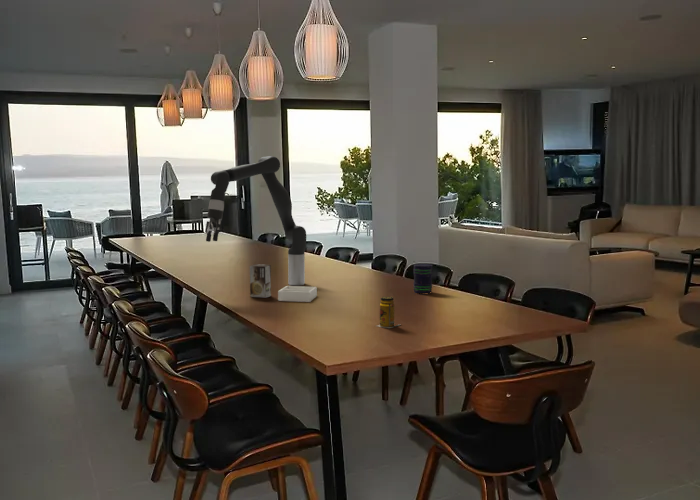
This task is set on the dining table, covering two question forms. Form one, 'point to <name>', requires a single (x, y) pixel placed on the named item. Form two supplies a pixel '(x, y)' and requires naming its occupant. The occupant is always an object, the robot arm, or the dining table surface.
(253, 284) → the coffee box
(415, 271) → the storage jar
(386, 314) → the condiment
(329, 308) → the dining table surface
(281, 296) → the white square tray
